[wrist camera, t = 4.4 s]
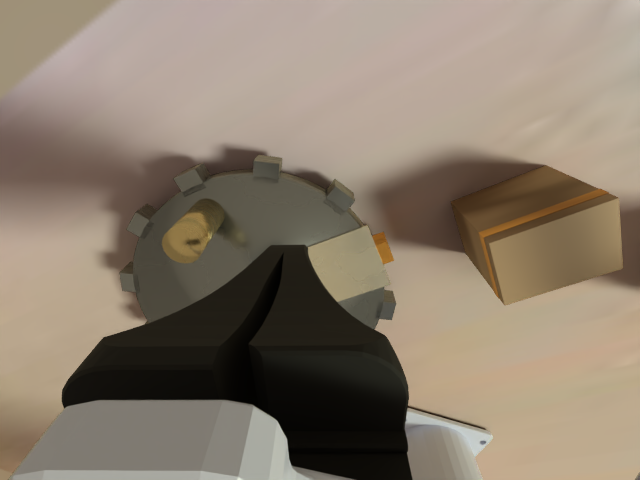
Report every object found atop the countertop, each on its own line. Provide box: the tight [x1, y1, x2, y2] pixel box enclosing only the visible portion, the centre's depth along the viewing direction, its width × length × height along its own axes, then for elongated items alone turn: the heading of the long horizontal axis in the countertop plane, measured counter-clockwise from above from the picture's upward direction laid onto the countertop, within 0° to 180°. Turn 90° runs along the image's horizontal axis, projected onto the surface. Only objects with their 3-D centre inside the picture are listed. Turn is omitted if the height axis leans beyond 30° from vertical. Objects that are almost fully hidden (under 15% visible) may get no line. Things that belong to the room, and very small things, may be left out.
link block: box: [451, 165, 623, 305], centre depth 17 cm, size 5×4×5 cm
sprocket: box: [119, 155, 396, 329], centre depth 18 cm, size 15×15×5 cm
